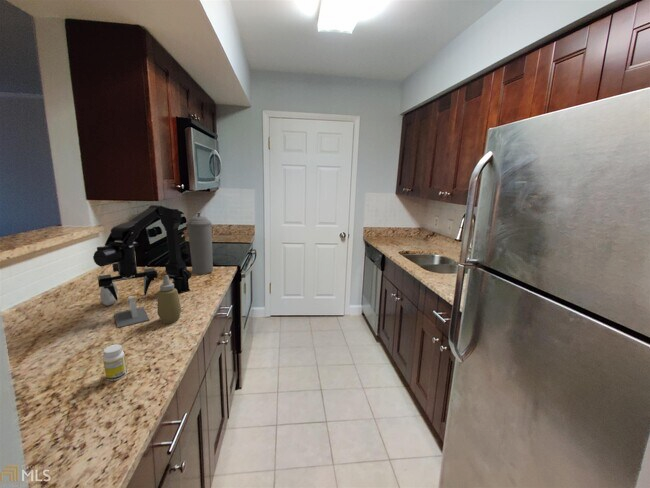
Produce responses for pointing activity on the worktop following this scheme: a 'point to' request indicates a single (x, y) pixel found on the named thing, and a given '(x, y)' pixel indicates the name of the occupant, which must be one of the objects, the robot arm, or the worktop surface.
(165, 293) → the squeeze bottle
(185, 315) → the worktop surface
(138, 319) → the mat
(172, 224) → the robot arm
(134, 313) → the tile
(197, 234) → the canister
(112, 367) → the supplement bottle
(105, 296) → the donut
